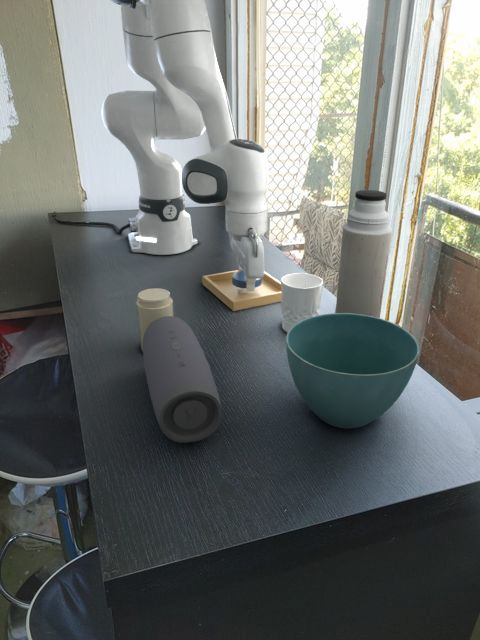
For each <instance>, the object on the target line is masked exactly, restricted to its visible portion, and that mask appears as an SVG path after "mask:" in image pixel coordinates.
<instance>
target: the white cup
mask: <svg viewBox="0 0 480 640" xmlns="http://www.w3.org/2000/svg"><path fill="white" fill-rule="evenodd" d="M280 282H281V302H280V305H281V307H280V308H281V310H280V311H281V328H282V329H283V331H284V332H286V333H288V331H289V330H290V328H291V327H292V326H294V325H295V324H296V323H298V322H300V321H302V320H304V319H307V318H310V317H313V316H318V315H320V309H321V301H322V293H323V287H324V280H323V278H321V277H320V276H319V275H316V274H313V273H306V272H294V273H288V274H286V275H284V276H282V277H281V279H280Z"/></svg>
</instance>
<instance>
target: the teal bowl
mask: <svg viewBox="0 0 480 640" xmlns="http://www.w3.org/2000/svg"><path fill="white" fill-rule="evenodd" d="M285 339H286V340H285V345H286V356H287V362H288V367H289V370H290V374H291V377H292V380H293V382H294V385H295V387H296V389H297V392H298V393H299V395H300V397H301V398H302V400H303V401H304V403H305V404H306V405H307V406H308V408H309V409H310V410H311V411H312V412H313V414H315V416H316V417H317V418H319V420H320V421H322V422H324V423H325V424H327V425H330V426H332V427H335V428H339V429H348V430H349V429H358V428H361V427H365V426H367V425H369V424H370V423H372V422H373V421H375V420H377V419H378V418H379V417H381V416H382V415H383V414H385V412H387V411H388V410H389V409H390V408H391V407H392V406H393V405H394V404H395V403H396V402H397V401H398V399H399V398H400V397H401V395H402V394H403V392H404V390H405V389H406V388H407V385H409V382H410V380H411V377H412V376H413V373H414V372H415V371H414V370H415V368H416V365H417V362H418V359H419V355H420V345H419V343H418V340H417V339H416V337H415V336H414V335H413V334H411V332H409V331H408V330H406V329H405V328H403V327H402V326H401V325H398V324H396V323H395V322H391V321H389V320H386V319H383V318H381V317H380V318H377V317H372V316H367V315H361V314H352V313H335V312H333V313H323V314H319V315H318V316H313V317H310V318H307V319H304V320H302V321H300V322H298V323H296V324H295V325H294V326H292V327H291V328H290V330H289V331H288V332H286V337H285Z"/></svg>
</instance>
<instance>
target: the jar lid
mask: <svg viewBox="0 0 480 640" xmlns="http://www.w3.org/2000/svg"><path fill="white" fill-rule="evenodd" d="M245 282H246V275H245V273H244V272H243V271H239V272H236V273H234V274H233V275H232V284H233V285H234V286H236V287H239V288H245ZM261 284H262V278H259V279H256V281H255V288H256V287H259V286H260V285H261Z"/></svg>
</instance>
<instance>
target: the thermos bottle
mask: <svg viewBox="0 0 480 640" xmlns="http://www.w3.org/2000/svg"><path fill="white" fill-rule="evenodd" d="M387 196H388V194H387V193H386V192H384V191H381V190H375V189H360V190H357V191H355V195H354V197H355V201H354V207H353V209H351V210H349V212H348V216H347V218H346V220H347V222H345V223H344V224H343V225H342V233H341V244H340V255H339V265H338V277H337V287H336V303H335V311H334V313H352V314H361V315H367V316H372V317H377V318H380V319H381V312H382V305H383V297H384V290H385V283H386V277H387V269H388V263H389V256H390V248H391V241H392V235H393V228H392V227H391V226H390V225H389V223H390V222H391V219H390V217H391V216H390V213H389V212H388V211H386V205H387V203H386V199H387Z"/></svg>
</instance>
